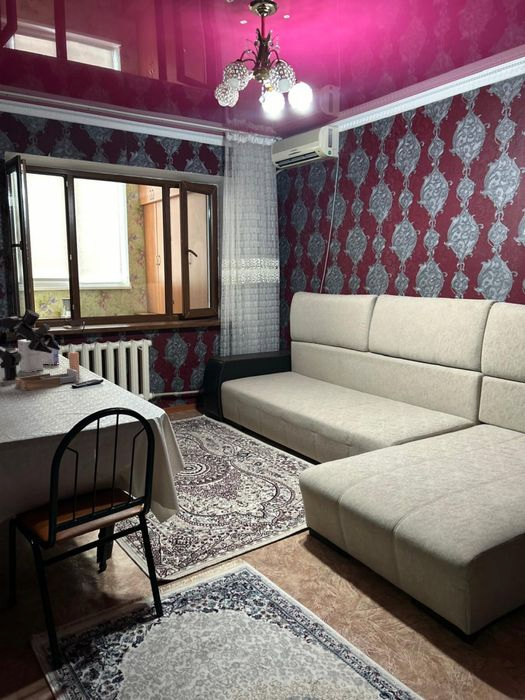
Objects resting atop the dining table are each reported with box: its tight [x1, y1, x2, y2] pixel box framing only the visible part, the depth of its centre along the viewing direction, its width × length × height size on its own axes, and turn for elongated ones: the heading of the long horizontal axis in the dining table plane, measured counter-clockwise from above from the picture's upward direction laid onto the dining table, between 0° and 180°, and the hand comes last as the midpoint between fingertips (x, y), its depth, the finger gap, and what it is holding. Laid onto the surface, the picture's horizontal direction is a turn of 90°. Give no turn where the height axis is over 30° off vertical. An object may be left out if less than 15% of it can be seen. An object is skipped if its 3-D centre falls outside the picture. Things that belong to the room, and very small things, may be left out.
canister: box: [68, 351, 81, 376], centre depth 282 cm, size 5×5×12 cm
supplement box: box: [17, 338, 44, 373], centre depth 297 cm, size 10×9×17 cm
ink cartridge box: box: [42, 342, 60, 366], centre depth 314 cm, size 10×6×14 cm, turn 78°
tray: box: [40, 367, 79, 384], centre depth 269 cm, size 10×15×5 cm, turn 134°
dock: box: [14, 372, 62, 392], centre depth 262 cm, size 12×17×4 cm
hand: (55, 350), depth 274 cm, fingers open, 9 cm apart
